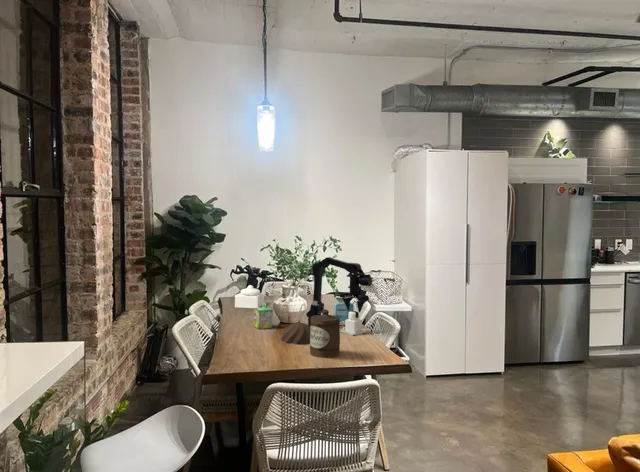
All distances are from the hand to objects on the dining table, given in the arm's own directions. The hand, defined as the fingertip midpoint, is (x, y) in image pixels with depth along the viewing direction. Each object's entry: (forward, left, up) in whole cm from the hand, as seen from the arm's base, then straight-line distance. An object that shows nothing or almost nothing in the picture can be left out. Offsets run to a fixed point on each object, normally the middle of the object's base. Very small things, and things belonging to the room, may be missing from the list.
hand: (354, 311), depth 290 cm
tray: (0, 0, -13) cm, 13 cm away
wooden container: (-43, -23, -13) cm, 51 cm away
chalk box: (-35, +43, -13) cm, 57 cm away
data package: (+18, +27, -13) cm, 35 cm away
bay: (+5, +13, -13) cm, 19 cm away
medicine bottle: (0, 0, -13) cm, 13 cm away
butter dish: (-2, +109, -13) cm, 110 cm away
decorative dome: (-37, +6, -14) cm, 39 cm away
